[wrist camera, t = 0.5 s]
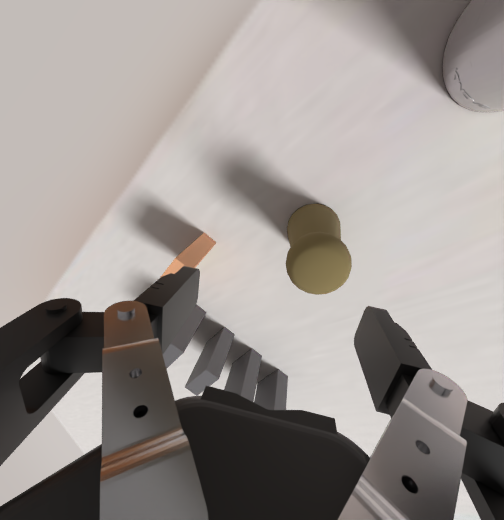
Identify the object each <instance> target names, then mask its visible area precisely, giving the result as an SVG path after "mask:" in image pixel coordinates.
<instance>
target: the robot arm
mask: <svg viewBox="0 0 504 520" xmlns="http://www.w3.org/2000/svg"><path fill="white" fill-rule="evenodd" d="M443 79H444V82H445V85H446V88H447V90H448V92H449V94H450V95H451V97H452V98H453V99H454V100H455V101H456V102H457V103H458V104H459V105H461V106H462V107H465V108H467V109H469V110H472V111H478V112H496V111H502V110H504V0H472V1H471V2H470V3H469V4H468V6H467V7H466V9H465V10H464V11H463V13H462V14H461V16H460V17H459V18H458V20H457V22H456V24H455V26H454V28H453V30H452V32H451V34H450V36H449V39H448V42H447V45H446V48H445V51H444V58H443ZM199 277H200V271H199V269H196V268H192V267H187V266H183V267H182V268H181V269H180V270H179V271H177V272H176V273H175V274H173V273H170V274H167V275H165V276H162V277H161V278H160V279H158V280H157V281H156V282H155V283H154V284H153V285H151V286H150V288H148V289H147V290H146V291H144V292H143V293H142V294H141V295H140V296H139V297H138V298H136V299H135V300H134V301H122V302H118V303H115V304H113V305H111V306H109V307H108V308H107V309H106V310H105V312H82V307H81V303H80V302H79V301H77V300H75V299H69V298H61V299H54V300H50V301H46V302H44V303H41V304H39V305H37V306H36V307H34V308H32V309H31V310H29V311H27V312H26V313H24V314H22V315H21V316H19V317H17V318H16V319H14V320H13V321H11V322H9V323H7V324H6V325H4V326H3V327H1V328H0V466H1V464H3V462H4V461H5V460H6V459H7V458H8V457H9V456H10V455H11V453H12V452H13V451H14V450H15V449H16V448H17V447H18V446H19V445H20V444H21V443H22V441H23V440H24V439H25V438H26V437H27V436H28V435H29V434H30V433H31V431H32V430H33V429H34V428H35V427H36V426H37V425H38V424H39V423H40V422H41V421H42V419H43V418H44V417H45V416H46V415H47V414H48V413H49V412H50V411H51V410H52V408H53V407H54V406H55V405H56V404H57V403H58V402H59V401H60V400H61V398H62V397H63V396H64V395H65V394H66V393H67V392H68V391H69V390H70V389H71V387H72V386H73V385H74V384H75V383H76V382H77V381H78V380H79V379H80V378H81V376H82V375H83V374H84V373H92V372H102V444H101V445H99V446H98V447H96V448H94V449H93V450H91V451H90V452H88V453H86V454H85V455H83V456H81V457H80V458H78V459H77V460H75V461H73V462H72V463H70V464H68V465H67V466H65V467H64V468H62V469H60V470H59V471H57V472H56V473H54V474H52V475H51V476H49V477H47V478H46V479H44V480H42V481H41V482H39V483H38V484H36V485H34V486H33V487H31V488H29V489H28V490H26V491H25V492H23V493H21V494H20V495H18V496H17V497H15V498H13V499H12V500H10V501H8V502H7V503H5V504H3V505H2V506H0V520H453V519H454V513H455V507H456V502H457V496H458V491H459V485H460V479H462V481H463V483H464V486H465V488H466V490H467V492H468V494H469V496H470V498H471V500H472V502H473V504H474V506H475V508H476V510H477V512H478V514H479V516H480V518H481V520H504V403H501V404H499V406H498V407H497V408H496V409H495V411H494V412H493V411H490V410H488V409H486V408H484V407H481V406H479V405H477V404H475V403H472V402H470V401H468V400H467V396H466V394H465V393H464V391H463V390H462V389H461V388H460V387H459V386H458V385H457V384H456V383H455V382H454V381H453V380H451V379H450V378H448V377H447V376H445V375H443V374H441V373H439V372H437V371H434V370H432V369H431V367H430V366H429V364H428V363H427V361H426V360H425V358H424V357H423V355H422V354H421V352H420V351H419V349H417V346H416V345H415V343H414V342H412V339H411V338H410V336H409V335H408V333H407V332H406V331H405V330H404V329H403V328H402V327H401V326H399V325H398V324H397V323H394V321H393V320H392V318H391V316H390V315H389V313H388V312H387V310H384V309H380V308H375V307H370V306H368V307H366V309H365V311H364V313H363V316H362V318H361V321H360V323H359V326H358V328H357V331H356V333H355V338H354V346H355V349H356V352H357V355H358V358H359V361H360V364H361V367H362V370H363V373H364V376H365V379H366V382H367V385H368V388H369V391H370V394H371V397H372V400H373V403H374V406H375V409H376V411H377V412H381V413H385V414H389V415H390V416H391V420H390V422H389V424H388V425H387V427H386V429H385V431H384V433H383V434H382V436H381V438H380V440H379V442H378V444H377V445H376V447H375V449H374V451H373V453H372V455H371V456H370V457H369V456H368V455H367V454H366V453H365V452H364V451H363V450H362V449H361V448H360V447H358V446H357V445H356V444H355V443H354V442H352V441H351V440H350V439H348V438H347V437H345V436H344V435H342V434H340V433H339V432H337V430H336V424H335V419H334V418H330V417H326V416H323V415H319V414H315V413H311V412H307V411H303V410H268V409H265V408H263V407H261V406H260V405H258V404H256V403H254V402H252V401H250V400H248V399H246V398H244V397H242V396H240V395H238V394H237V393H233V392H229V391H225V390H221V389H217V388H213V387H209V386H206V387H205V389H204V392H203V395H202V396H193V397H186V398H182V399H179V400H176V401H175V400H174V396H173V392H172V389H171V385H170V381H169V377H168V373H167V369H166V366H165V362H164V358H163V354H164V352H165V351H166V350H167V348H168V347H169V345H170V344H171V342H172V341H173V339H174V338H175V336H176V335H177V333H178V332H179V330H180V329H181V328H182V326H183V325H184V323H185V322H186V320H187V319H188V317H189V316H190V314H191V313H192V311H193V310H194V308H195V306H196V303H197V299H198V289H199ZM39 357H41V362H40V363H39V364H37V365H36V366H35V367H34V368H33V369H31V370H30V371H29V372H28V373H27V374H26V375H24V376H23V377H22V378H21V376H22V374H23V372H24V371H25V370H26V369H27V367H29V366H30V365H31V364H32V363H33V362H35V361H36V360H37V359H38V358H39ZM20 378H21V379H20Z"/></svg>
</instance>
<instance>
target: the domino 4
mask: <svg viewBox="0 0 504 520" xmlns="http://www.w3.org/2000/svg"><path fill="white" fill-rule="evenodd" d="M287 381H288V376H287V375H285V374H284V373H283V372H282V371H280V370H279V369H278V370H276V371H275V372H273V373H272V374H270V375H269V376H267V377H266V378H264V379H263V380H261V381H260V382H259V383H258V385H257V391H256V396H255V401H254V403H256V404H258V405H260V406H261V407H263V408H265V409H268V410H286V398H287Z"/></svg>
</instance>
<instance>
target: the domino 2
mask: <svg viewBox="0 0 504 520" xmlns="http://www.w3.org/2000/svg"><path fill="white" fill-rule="evenodd" d="M233 338H234V334H233V333H232V332H231V331H229V330H228V329H227V328H226V327H224V328H223V329H221V330H220V331H219V332H218V333H217V334H216V335H215V336H214V337H213V338H212V339H210V340H209V341H208V342H207V343H206V345H205V347H204V349H203V351H202V353H201V355H200V357H199V359H198V361H197V363H196V365H195V367H194V369H193V371H192V373H191V375H190V377H189V379H188V382H187V384H186V386H185V388H187V389H188V390H190V391H191V392H192V393H194V394H195V395H196V396H197V395H198V394H200V393H201V392H202V391H204V389H205V387H206V386H210V385H212V384H213V383H214V382H215V381H217V380H218V379H219V377H220V374H221V371H222V369H223V366H224V363H225V360H226V357H227V355H228V352H229V349H230V346H231V344H232V341H233Z"/></svg>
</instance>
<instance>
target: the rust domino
mask: <svg viewBox="0 0 504 520" xmlns="http://www.w3.org/2000/svg"><path fill="white" fill-rule="evenodd" d="M215 244H216V242H215V241H214V240H213V239H211V238H210V237H209V236H208V235H207V234H205V233H203V234H202V235H201V236H200V237H199V238H197V239H196V240H195V241H194V242H193V243H192V244H191V245H189V246H188V247H187V248H186V249H185V250H184V251H183V252H182V253H180V254H179V255H178V256H177V257H176V258H175V259H174V260H173V262H172V263H171V264H170V266H169V267H168V268H167V270H166V271H165V272H164V273H163V275H162V276H165V275H167V274H170V273H173V274H175V273H176V272H177V271H179V270H180V269H181V268H182V267H183V266H187V267H192V268H195V267H196V266H197V265H198V264H199V263H200V261H201V260H202V259H203V258H204V257H205V256H206V254H207V253H208V252H209V251H210V250H211V249H212V247H213V246H214V245H215ZM162 276H161V277H162ZM161 277H160V278H161Z"/></svg>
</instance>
